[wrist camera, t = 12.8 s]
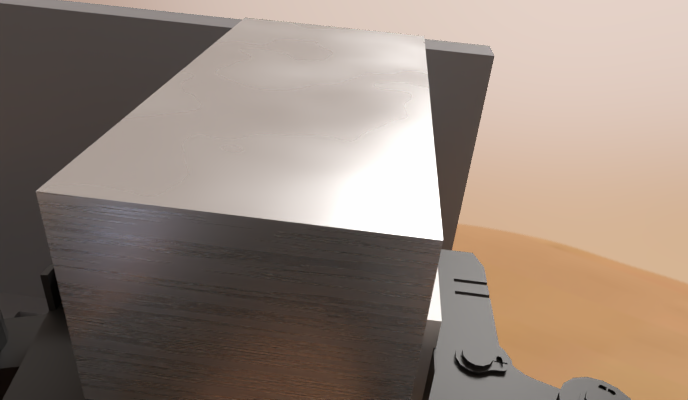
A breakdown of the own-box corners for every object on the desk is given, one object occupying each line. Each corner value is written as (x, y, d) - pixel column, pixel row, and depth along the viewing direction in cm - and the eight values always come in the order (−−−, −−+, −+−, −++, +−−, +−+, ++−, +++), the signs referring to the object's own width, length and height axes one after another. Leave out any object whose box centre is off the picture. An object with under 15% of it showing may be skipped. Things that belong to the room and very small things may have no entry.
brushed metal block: (154, 691, 11) (35, 190, 5) (250, 387, 18) (245, 17, 12) (345, 723, 11) (443, 240, 5) (369, 404, 18) (424, 35, 12)
